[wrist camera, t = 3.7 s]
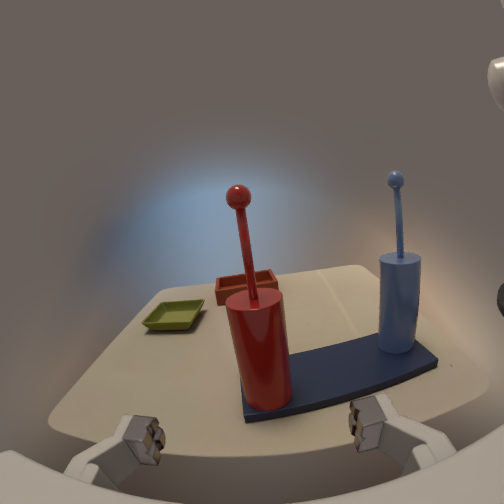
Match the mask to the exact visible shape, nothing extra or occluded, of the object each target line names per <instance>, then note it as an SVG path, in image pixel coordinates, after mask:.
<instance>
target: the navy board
mask: <svg viewBox="0 0 504 504" xmlns="http://www.w3.org/2000/svg"><path fill="white" fill-rule="evenodd" d="M289 358H290V369H291V379H292V390H293V396H292V398H291V400H290V401H289V403H287V404H286V405H285V406H283V407H282V408H279V409H276V410H272V411H260V410H256V409H253V408H252V407H250V406H249V405H248V404H247V402H246V400H245V396H244V391H243V387H242V382H241V392H242V403H243V413H244V419H245V422H246V423H247V422H254V421H261V420H267V419H272V418H278V417H283V416H288V415H293V414H298V413H302V412H307V411H311V410H315V409H319V408H323V407H327V406H330V405H334V404H338V403H341V402H344V401H348V400H351V399H354V398H358V397H361V396H364V395H367V394H370V393H373V392H376V391H378V390H381V389H384V388H387V387H389V386H392V385H395V384H397V383H400V382H402V381H405V380H407V379H409V378H412V377H414V376H417V375H419V374H421V373H423V372H426V371H428V370H430V369H432V368H434V367H436V366H437V364H438V358H437V357H435V356H434V355H433V354H432V353H431V352H430V351H428V350H427V349H426V348H425V347H424V346H422V345H421V344H420V343H419V342H418V341H417V340H415V342H414V346H413V348H412V349H411V350H409V351H407V352H405V353H401V354H391V353H387V352H384V351H382V350H381V349H380V348H379V346H378V333H375V334H372V335H368V336H365V337H361V338H358V339H354V340H350V341H347V342H343V343H339V344H335V345H331V346H327V347H322V348H318V349H314V350H309V351H305V352H300V353H295V354H290V355H289ZM240 380H241V378H240Z"/></svg>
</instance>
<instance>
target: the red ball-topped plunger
mask: <svg viewBox="0 0 504 504" xmlns="http://www.w3.org/2000/svg"><path fill="white" fill-rule="evenodd" d="M226 201H227V204H228V205H229V206H230V207H231V208H233V209H235V210H236V217H237V223H238V230H239V236H240V242H241V250H242V256H243V262H244V269H245V275H246V282H247V288H248V290H244V291H240V292H238V293H235V294H233V295H231V296H230V297H229V298H227V300H226V302H225V304H226V310H227V315H228V320H229V325H230V330H231V335H232V340H233V345H234V349H235V354H236V359H237V364H238V368H239V373H240V378H241V382H242V387H243V391H244V396H245V400H246V402H247V404H248V405H249V406H250V407H252V408H253V409H256V410H260V411H272V410H276V409H279V408H282V407H283V406H285V405H286V404H287V403H289V401H290V400H291V398H292V396H293V390H292V379H291V369H290V358H289V349H288V339H287V330H286V320H285V311H284V302H283V295H282V293H281V292H280V291H279V290H276V289H272V288H257V285H256V278H255V271H254V265H253V258H252V251H251V245H250V238H249V231H248V224H247V218H246V210H245V208H246V207H247V206H248V205H249V204H250V202H251V193H250V191H249V189H248V188H247V187H245V186H243V185H234V186H232V187H231V188H229V190H228V191H227V193H226Z"/></svg>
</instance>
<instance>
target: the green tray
mask: <svg viewBox="0 0 504 504" xmlns="http://www.w3.org/2000/svg"><path fill="white" fill-rule="evenodd" d="M203 303H204V299H199V300H187V301H172V302H161V303H160V304H159V305H158V306H157V307H156V308H155V309H154V310H153V311H152V312H151V313H150V314H149V315H148V316H147V317H146V318H145V319H144V320H143V321H142V324H143V325H144V326H146V327H148V328H150V329H152V330H187V329H189V328H190V326H191V324H192V323H193V321H194V320H195V318H196V316H197V315H198V313H199V311H200V310H201V308H202V306H203Z"/></svg>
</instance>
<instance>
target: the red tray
mask: <svg viewBox="0 0 504 504" xmlns="http://www.w3.org/2000/svg"><path fill="white" fill-rule="evenodd" d="M255 278H256V285H257V288H272V289H276V290H279V288H278V281H277V279H276V278H275V276H274V274H273V272H272V271H271V269H269V270H263V271H257V272H255ZM244 290H248V288H247V282H246V275H245V274H238V275H232V276H225V277H220V278H217V279H216V287H215V294H216V299H217V304H218V306H219V305H225V302H226V300H227V298H229V297H230V296H231V295H233V294H235V293H238V292H240V291H244Z"/></svg>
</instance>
